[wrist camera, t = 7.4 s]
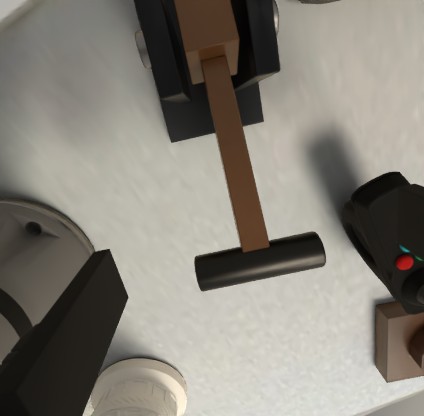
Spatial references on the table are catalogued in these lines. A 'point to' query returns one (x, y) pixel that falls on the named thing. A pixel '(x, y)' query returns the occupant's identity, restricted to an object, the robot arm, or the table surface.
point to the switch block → (399, 342)
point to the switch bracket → (196, 93)
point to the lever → (235, 156)
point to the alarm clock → (316, 1)
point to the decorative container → (139, 390)
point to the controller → (385, 240)
